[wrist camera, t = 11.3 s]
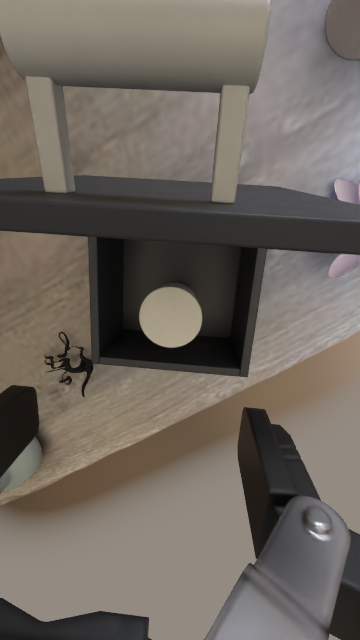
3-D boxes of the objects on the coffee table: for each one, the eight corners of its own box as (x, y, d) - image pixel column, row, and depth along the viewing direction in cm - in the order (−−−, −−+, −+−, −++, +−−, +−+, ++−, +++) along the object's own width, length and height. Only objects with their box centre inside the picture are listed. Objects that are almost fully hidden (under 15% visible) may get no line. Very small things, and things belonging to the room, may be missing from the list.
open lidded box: (234, 341, 36) (247, 377, 27) (118, 332, 37) (91, 363, 27) (252, 207, 31) (275, 193, 22) (119, 199, 32) (86, 181, 23)
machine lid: (445, 262, 6) (634, -88, 4) (-169, 219, 7) (-346, -103, 5) (276, 197, 22) (292, 117, 19) (84, 186, 22) (75, 106, 20)
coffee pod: (144, 322, 30) (133, 339, 25) (155, 272, 28) (146, 279, 23) (194, 335, 30) (193, 354, 25) (207, 286, 28) (209, 295, 23)
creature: (55, 377, 40) (102, 387, 38) (26, 395, 36) (79, 408, 33) (51, 327, 38) (101, 335, 36) (19, 339, 33) (75, 349, 31)
